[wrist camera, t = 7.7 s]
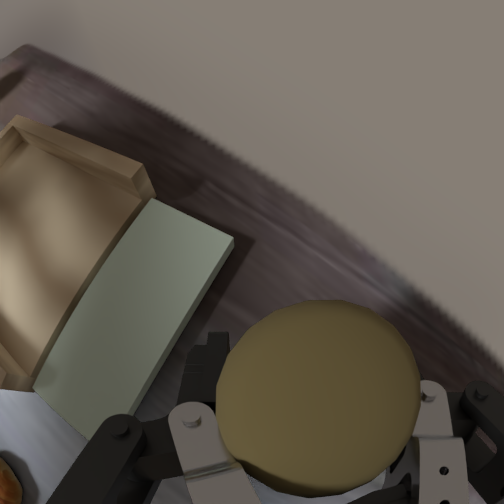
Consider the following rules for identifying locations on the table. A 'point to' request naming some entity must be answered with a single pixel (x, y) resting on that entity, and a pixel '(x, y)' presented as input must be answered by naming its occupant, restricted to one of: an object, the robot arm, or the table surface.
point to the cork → (318, 398)
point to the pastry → (9, 485)
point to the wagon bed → (55, 234)
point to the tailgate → (131, 317)
